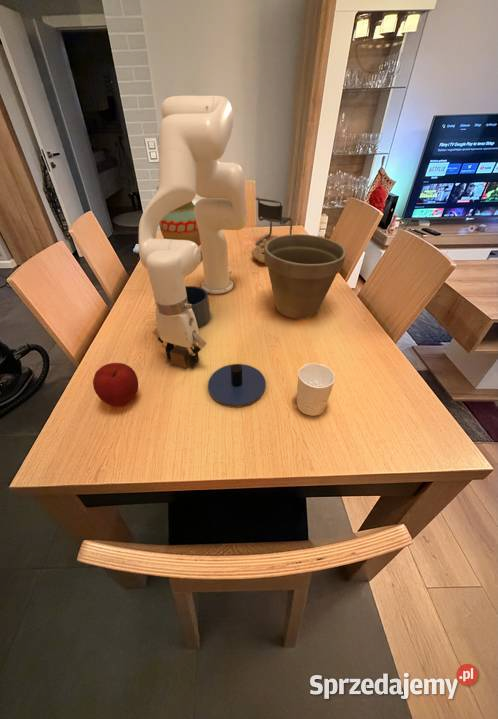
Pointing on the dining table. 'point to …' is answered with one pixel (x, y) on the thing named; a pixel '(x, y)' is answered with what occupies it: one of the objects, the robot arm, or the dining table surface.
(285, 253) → the plant pot
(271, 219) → the chair
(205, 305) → the tin
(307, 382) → the white cup
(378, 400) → the dining table surface
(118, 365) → the apple
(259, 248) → the oil lamp
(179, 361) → the block
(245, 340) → the dining table surface
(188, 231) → the vase
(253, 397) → the lid
